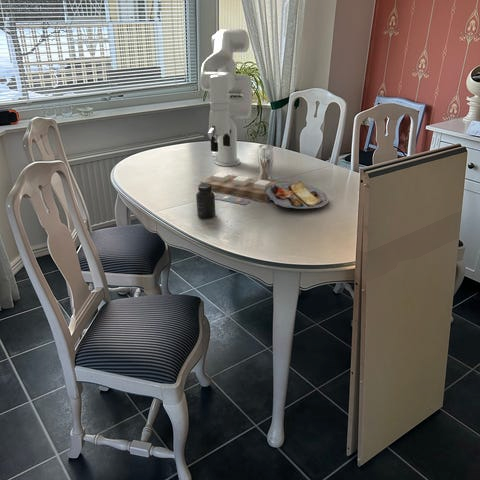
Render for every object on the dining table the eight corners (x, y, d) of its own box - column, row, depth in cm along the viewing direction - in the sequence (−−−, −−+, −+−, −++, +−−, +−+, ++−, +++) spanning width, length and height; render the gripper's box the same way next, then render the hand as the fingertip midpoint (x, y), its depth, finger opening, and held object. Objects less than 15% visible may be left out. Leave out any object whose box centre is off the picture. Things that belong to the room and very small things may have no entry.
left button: (212, 182, 202) (212, 175, 200) (219, 178, 206) (219, 172, 204) (223, 184, 199) (223, 177, 198) (229, 180, 204) (229, 174, 202)
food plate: (257, 188, 193) (258, 180, 191) (308, 184, 200) (309, 177, 199) (281, 216, 173) (282, 207, 171) (336, 211, 180) (338, 203, 179)
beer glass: (272, 182, 207) (273, 149, 200) (256, 181, 208) (257, 148, 202) (274, 177, 213) (275, 144, 207) (259, 176, 215) (259, 144, 208)
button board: (200, 188, 201) (200, 181, 199) (218, 179, 212) (218, 172, 210) (267, 201, 187) (267, 194, 185) (282, 190, 197) (282, 184, 196)
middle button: (232, 186, 197) (232, 179, 196) (239, 182, 201) (238, 175, 200) (243, 188, 195) (243, 181, 194) (249, 184, 199) (249, 177, 198)
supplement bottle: (206, 210, 179) (204, 180, 174) (219, 215, 175) (218, 184, 170) (193, 216, 175) (191, 185, 169) (206, 220, 171) (205, 190, 165)
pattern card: (202, 196, 192) (202, 195, 192) (209, 192, 196) (209, 191, 196) (245, 205, 183) (245, 204, 183) (251, 201, 187) (251, 199, 187)
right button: (253, 190, 193) (253, 183, 192) (259, 186, 197) (259, 179, 196) (264, 192, 191) (265, 185, 189) (270, 188, 195) (270, 181, 193)
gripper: (222, 102, 197) (223, 142, 204) (199, 109, 183) (201, 152, 191) (238, 104, 194) (238, 145, 201) (216, 111, 180) (217, 154, 188)
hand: (220, 148), depth 196 cm, fingers open, 9 cm apart
